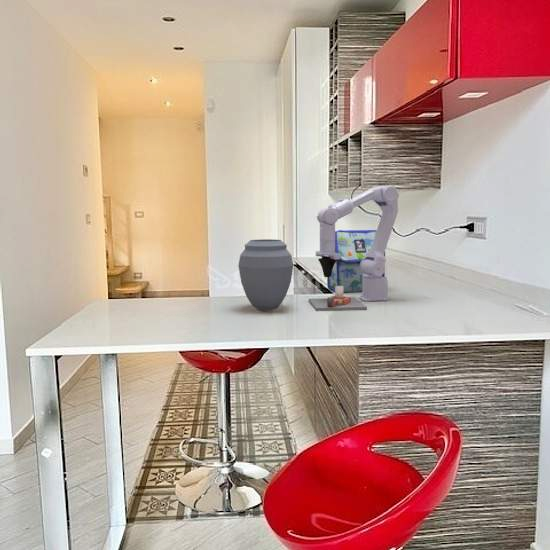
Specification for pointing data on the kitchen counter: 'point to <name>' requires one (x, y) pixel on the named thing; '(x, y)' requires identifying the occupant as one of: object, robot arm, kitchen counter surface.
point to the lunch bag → (350, 258)
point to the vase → (265, 272)
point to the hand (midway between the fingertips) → (327, 277)
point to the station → (322, 305)
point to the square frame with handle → (333, 302)
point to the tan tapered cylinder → (339, 302)
